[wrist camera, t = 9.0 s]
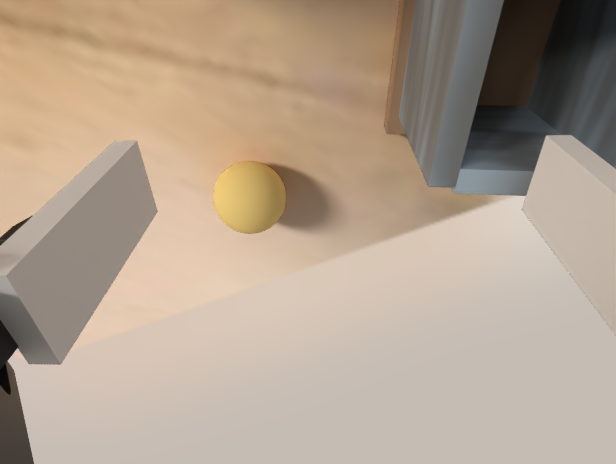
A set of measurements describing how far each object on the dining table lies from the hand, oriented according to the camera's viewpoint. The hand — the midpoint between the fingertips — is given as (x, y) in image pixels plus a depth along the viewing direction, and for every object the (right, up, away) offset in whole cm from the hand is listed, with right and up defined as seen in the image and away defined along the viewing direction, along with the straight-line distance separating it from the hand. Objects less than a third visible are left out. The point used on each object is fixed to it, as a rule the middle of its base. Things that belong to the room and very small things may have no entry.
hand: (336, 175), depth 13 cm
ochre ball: (-5, 0, +14) cm, 15 cm away
